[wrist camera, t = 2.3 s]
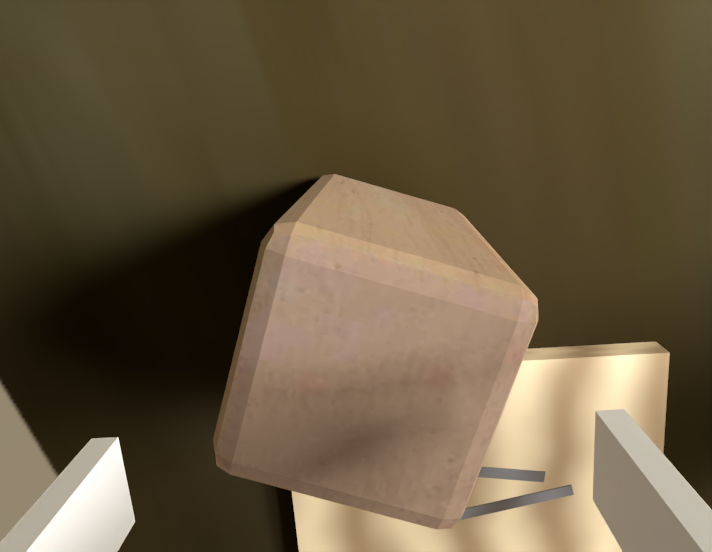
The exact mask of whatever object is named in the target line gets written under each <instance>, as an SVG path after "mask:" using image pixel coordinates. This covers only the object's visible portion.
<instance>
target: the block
mask: <svg viewBox="0 0 712 552" xmlns="http://www.w3.org/2000/svg"><path fill="white" fill-rule="evenodd" d="M538 320H539V319H538V299H537V298H536V296H535V295H534V294H533V293H532V292H531V291H530V290H529V288H528V287H527V286H526V285H525V284H524V283H523V282H522V281H521V279H520V278H519V277H518V276H517V275H516V274H515V273H514V272H513V270H512V269H511V268H510V267H509V266H508V265H507V264H506V263H505V261H504V260H503V259H502V258H501V257H500V256H499V255H498V254H497V252H496V251H495V250H494V249H493V248H492V247H491V246H490V245H489V243H488V242H487V241H486V240H485V239H484V238H483V237H482V236H481V234H480V233H479V232H478V231H477V230H476V229H475V228H474V227H473V225H472V224H471V223H470V222H469V221H468V220H467V219H466V218H465V216H463V215H462V214H461V213H460V212H459V211H457V210H456V209H455V208H451V207H448V206H444V205H441V204H437V203H434V202H430V201H427V200H423V199H420V198H416V197H413V196H409V195H406V194H403V193H399V192H396V191H392V190H389V189H385V188H382V187H378V186H375V185H371V184H368V183H364V182H361V181H357V180H354V179H350V178H347V177H343V176H340V175H336V174H330V175H323V176H322V177H321V178H320V179H319V180H318V181H317V182H316V183H315V184H314V185H313V186H312V187H311V188H310V189H309V190H308V191H307V192H306V193H305V194H304V195H303V196H302V197H301V198H300V199H299V200H298V201H297V202H296V203H295V204H294V205H293V206H292V207H291V208H290V209H289V210H288V211H287V212H286V213H285V214H284V215H283V216H282V217H281V218H280V219H279V220H278V221H277V222H276V223H275V224H274V225H273V226H272V228H271V229H270V230H269V232H268V233H267V234H266V236H265V237H264V238H263V240H262V241H261V244H260V248H259V252H258V256H257V261H256V265H255V269H254V273H253V277H252V281H251V285H250V289H249V294H248V298H247V302H246V306H245V310H244V314H243V318H242V322H241V327H240V331H239V335H238V339H237V343H236V347H235V351H234V355H233V359H232V364H231V368H230V372H229V376H228V380H227V384H226V388H225V392H224V397H223V401H222V405H221V409H220V413H219V417H218V421H217V425H216V430H215V434H214V438H213V445H214V450H215V456H216V465H217V466H218V467H220V468H221V469H223V470H224V471H225V472H227V473H228V474H230V475H234V476H238V477H242V478H245V479H249V480H253V481H257V482H260V483H264V484H268V485H272V486H275V487H279V488H283V489H286V490H290V491H294V492H298V493H301V494H305V495H309V496H313V497H316V498H320V499H324V500H328V501H331V502H335V503H339V504H343V505H346V506H350V507H354V508H358V509H361V510H365V511H369V512H373V513H376V514H380V515H384V516H388V517H391V518H395V519H399V520H403V521H406V522H410V523H414V524H418V525H421V526H425V527H429V528H433V529H436V530H437V529H450V528H453V527H454V526H455V525H456V523H457V522H458V521H459V520H460V519H461V517H462V515H463V513H464V511H465V509H466V506H467V503H468V501H469V498H470V496H471V493H472V490H473V488H474V485H475V483H476V480H477V477H478V475H479V472H480V470H481V467H482V465H483V462H484V459H485V457H486V454H487V452H488V449H489V446H490V444H491V441H492V439H493V436H494V433H495V431H496V428H497V426H498V423H499V421H500V418H501V415H502V413H503V410H504V408H505V405H506V402H507V400H508V397H509V395H510V392H511V389H512V387H513V384H514V382H515V379H516V377H517V374H518V371H519V369H520V366H521V364H522V361H523V358H524V356H525V353H526V351H527V348H528V346H529V343H530V340H531V338H532V335H533V333H534V330H535V327H536V325H537V322H538Z"/></svg>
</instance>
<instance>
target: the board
mask: <svg viewBox="0 0 712 552" xmlns="http://www.w3.org/2000/svg"><path fill="white" fill-rule="evenodd" d="M669 356H670V352H668V351H667V350H666V349H665V348H663V347H662V346H661V345H660V344H658V343H657V342H639V343H621V344H603V345H586V346H568V347H550V348H533V349H527V351H526V353H525V356H524V358H523V361H522V364H521V366H520V369H519V371H518V374H517V377H516V379H515V382H514V384H513V387H512V389H511V392H510V395H509V397H508V400H507V402H506V405H505V408H504V410H503V413H502V415H501V418H500V421H499V423H498V426H497V428H496V431H495V433H494V436H493V439H492V441H491V444H490V446H489V449H488V452H487V454H486V457H485V459H484V462H483V465H482V467H481V470H480V472H479V475H478V477H477V480H476V483H475V485H474V488H473V490H472V493H471V496H470V498H469V501H468V503H467V506H466V509H465V511H464V513H463V515H462V517H461V519H460V520H459V521H458V522H457V523H456V525H455V526H454V527H453V528H450V529H437V530H436V529H433V528H429V527H425V526H421V525H418V524H414V523H410V522H406V521H403V520H399V519H395V518H391V517H388V516H384V515H380V514H376V513H373V512H369V511H365V510H361V509H358V508H354V507H350V506H346V505H343V504H339V503H335V502H331V501H328V500H324V499H320V498H316V497H313V496H309V495H305V494H301V493H298V492H294V491H292V499H293V507H294V516H295V524H296V532H297V541H298V549H299V552H623V551H622V549H621V548H620V546H619V544H618V543H617V541H616V539H615V537H614V536H613V534H612V532H611V530H610V529H609V527H608V525H607V523H606V522H605V520H604V518H603V517H602V515H601V513H600V511H599V510H598V508H597V506H596V504H595V503H594V501H593V472H594V439H595V411H599V410H617V409H625V410H626V412H627V413H628V414H629V415H630V416H631V417H632V418H633V420H634V421H635V422H636V423H637V424H638V425H639V427H640V428H641V429H642V430H643V431H644V432H645V433H646V435H647V436H648V437H649V438H650V439H651V440H652V442H653V443H654V444H655V445H656V446H657V447H658V448H659V450H660V451H661V452H662V453H663V450H664V434H665V419H666V403H667V387H668V372H669Z"/></svg>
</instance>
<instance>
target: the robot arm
mask: <svg viewBox="0 0 712 552" xmlns="http://www.w3.org/2000/svg"><path fill="white" fill-rule="evenodd" d="M593 501H594V503H595V504H596V506H597V508H598V510H599V511H600V513H601V515H602V517H603V518H604V520H605V522H606V523H607V525H608V527H609V529H610V530H611V532H612V534H613V536H614V537H615V539H616V541H617V543H618V544H619V546H620V548H621V549H622V551H623V552H712V509H711V508H710V507H709V506H708V505H707V504H706V503H705V501H704V500H703V499H702V498H701V497H700V496H699V494H698V493H697V492H696V491H695V490H694V489H693V488H692V486H691V485H690V484H689V483H688V482H687V481H686V480H685V478H684V477H683V476H682V475H681V474H680V473H679V471H678V470H677V469H676V468H675V467H674V466H673V465H672V463H671V462H670V461H669V460H668V459H667V458H666V456H665V455H664V454H663V453H662V452H661V451H660V450H659V448H658V447H657V446H656V445H655V444H654V443H653V442H652V440H651V439H650V438H649V437H648V436H647V435H646V433H645V432H644V431H643V430H642V429H641V428H640V427H639V425H638V424H637V423H636V422H635V421H634V420H633V418H632V417H631V416H630V415H629V414H628V413H627V412H626V410H625V409H617V410H599V411H595V439H594V472H593ZM134 523H135V518H134V513H133V508H132V503H131V498H130V493H129V488H128V483H127V478H126V473H125V468H124V463H123V458H122V453H121V448H120V443H119V438H118V437H110V438H91V440H90V441H89V442H88V443H87V444H86V445H85V446H84V448H83V449H82V450H81V451H80V452H79V453H78V454H77V455H76V457H75V458H74V459H73V460H72V461H71V462H70V463H69V465H68V466H67V467H66V468H65V469H64V470H63V471H62V472H61V474H60V475H59V476H58V477H57V478H56V479H55V481H54V482H53V483H52V484H51V485H50V486H49V487H48V488H47V489H46V491H45V492H44V493H43V494H42V495H41V496H40V497H39V499H38V500H37V501H36V502H35V503H34V504H33V505H32V506H31V508H30V509H29V510H28V511H27V512H26V513H25V515H24V516H23V517H22V518H21V519H20V520H19V521H18V522H17V524H16V525H15V526H14V527H13V528H12V529H11V530H10V531H9V533H8V534H7V535H6V536H5V537H4V538H3V539H2V540H1V542H0V552H118V550H119V548H120V547H121V545H122V543H123V541H124V540H125V538H126V536H127V535H128V533H129V531H130V530H131V528H132V526H133V525H134Z"/></svg>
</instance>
